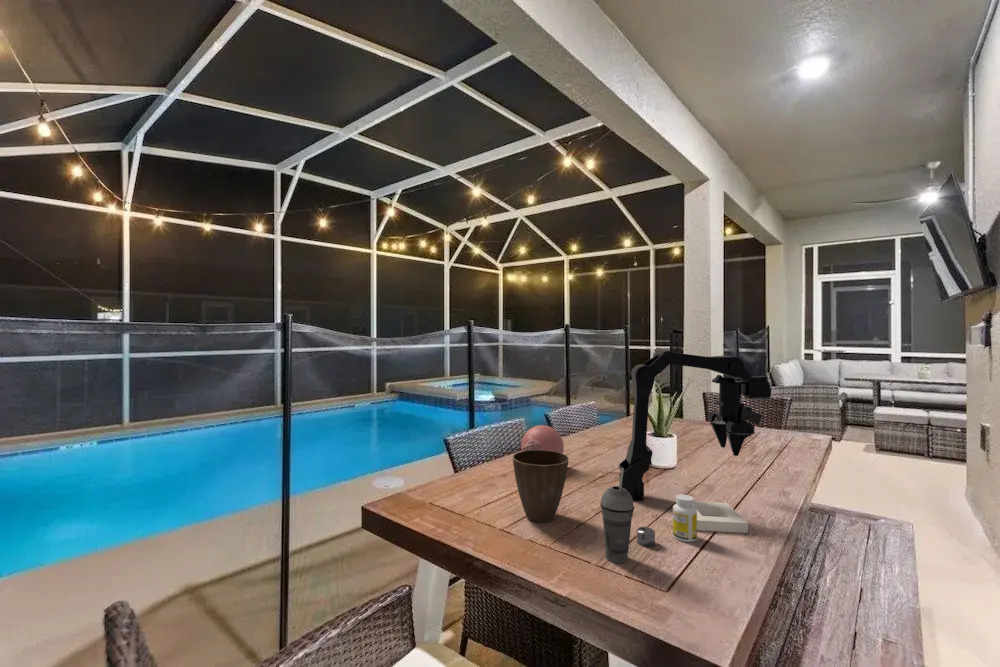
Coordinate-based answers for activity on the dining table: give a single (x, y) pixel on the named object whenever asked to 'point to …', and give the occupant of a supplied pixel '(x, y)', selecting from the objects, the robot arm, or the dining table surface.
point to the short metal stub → (646, 537)
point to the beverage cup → (617, 521)
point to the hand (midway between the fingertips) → (729, 451)
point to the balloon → (542, 439)
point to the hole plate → (719, 518)
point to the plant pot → (540, 482)
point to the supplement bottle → (685, 519)
